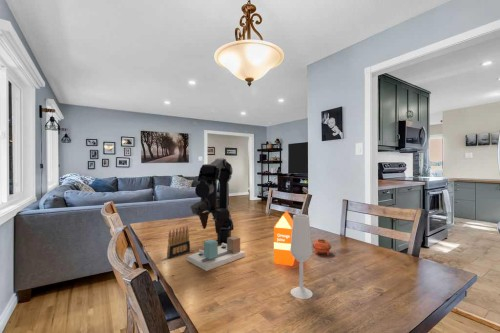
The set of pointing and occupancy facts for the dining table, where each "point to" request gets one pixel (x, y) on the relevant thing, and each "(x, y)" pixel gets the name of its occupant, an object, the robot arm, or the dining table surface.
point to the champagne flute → (301, 250)
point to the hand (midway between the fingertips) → (210, 230)
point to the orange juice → (283, 241)
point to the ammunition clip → (178, 243)
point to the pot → (322, 246)
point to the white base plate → (219, 255)
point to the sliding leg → (210, 249)
